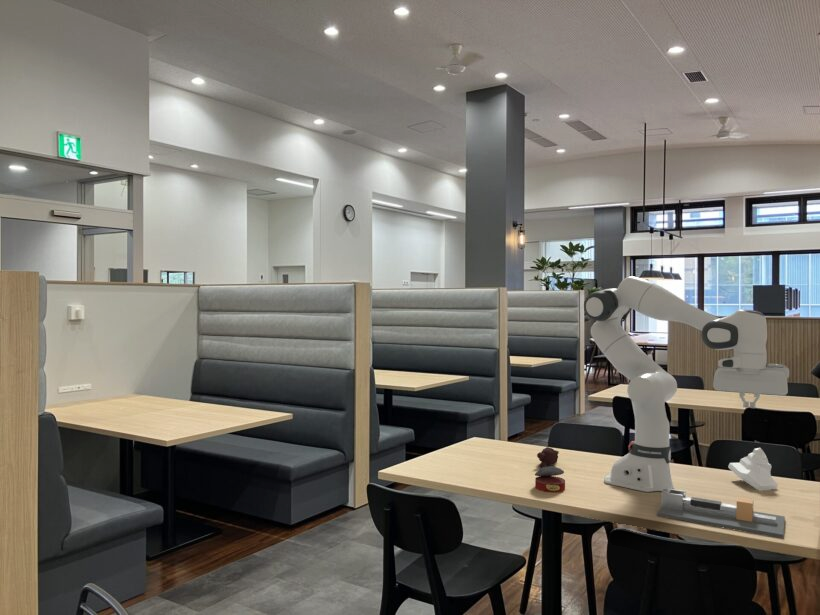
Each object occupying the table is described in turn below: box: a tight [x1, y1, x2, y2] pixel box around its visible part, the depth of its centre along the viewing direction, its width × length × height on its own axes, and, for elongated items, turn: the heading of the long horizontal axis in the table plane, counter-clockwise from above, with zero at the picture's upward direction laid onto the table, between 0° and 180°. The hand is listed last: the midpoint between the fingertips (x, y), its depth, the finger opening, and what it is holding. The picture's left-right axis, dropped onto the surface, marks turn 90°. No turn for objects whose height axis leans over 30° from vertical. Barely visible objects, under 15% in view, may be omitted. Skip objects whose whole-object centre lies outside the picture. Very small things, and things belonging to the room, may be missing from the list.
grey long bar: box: [660, 488, 776, 525], centre depth 188 cm, size 30×6×4 cm, turn 59°
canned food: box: [534, 465, 566, 493], centre depth 216 cm, size 11×10×10 cm
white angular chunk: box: [728, 447, 779, 492], centre depth 223 cm, size 12×15×14 cm
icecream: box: [536, 446, 560, 469], centre depth 247 cm, size 7×7×15 cm
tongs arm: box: [683, 496, 737, 512], centre depth 189 cm, size 21×3×2 cm, turn 59°
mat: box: [656, 506, 786, 539], centre depth 188 cm, size 32×18×1 cm, turn 59°
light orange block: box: [736, 496, 755, 522], centre depth 184 cm, size 4×5×5 cm
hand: (749, 407), depth 196 cm, fingers closed
